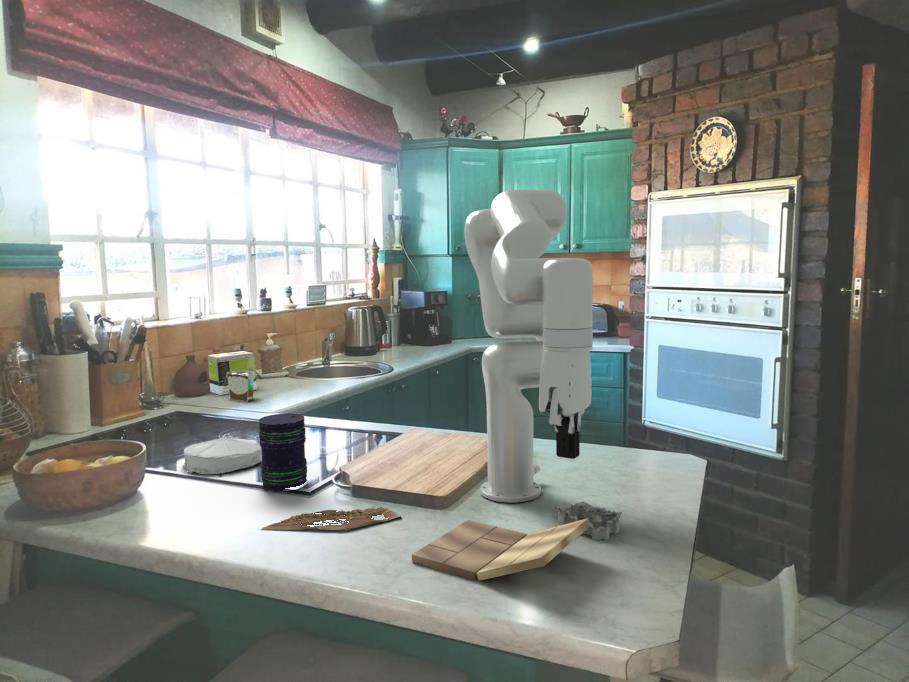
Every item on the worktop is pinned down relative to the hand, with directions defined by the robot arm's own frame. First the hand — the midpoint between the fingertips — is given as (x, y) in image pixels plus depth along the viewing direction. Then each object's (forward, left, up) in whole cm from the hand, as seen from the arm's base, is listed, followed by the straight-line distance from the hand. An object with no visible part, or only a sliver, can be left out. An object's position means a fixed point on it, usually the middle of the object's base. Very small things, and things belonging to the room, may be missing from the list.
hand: (567, 456), depth 104 cm
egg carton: (-16, -3, -18) cm, 24 cm away
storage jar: (-3, -69, -18) cm, 71 cm away
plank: (+4, -3, -15) cm, 16 cm away
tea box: (-69, -171, -18) cm, 185 cm away
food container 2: (-61, -154, -18) cm, 166 cm away
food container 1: (-7, -95, -18) cm, 97 cm away
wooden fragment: (+7, -45, -18) cm, 49 cm away
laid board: (+4, -16, -18) cm, 24 cm away
